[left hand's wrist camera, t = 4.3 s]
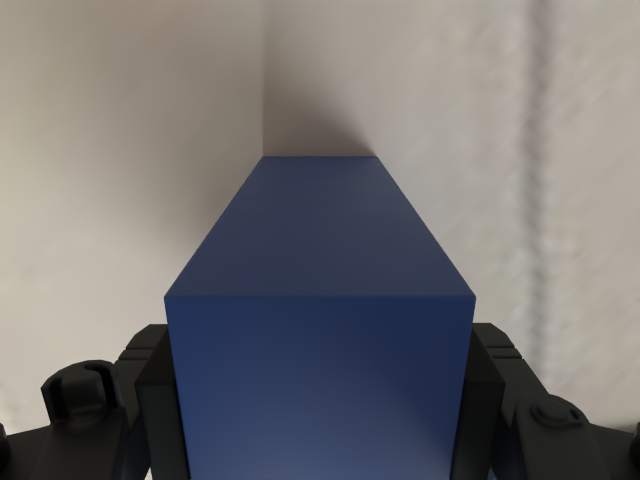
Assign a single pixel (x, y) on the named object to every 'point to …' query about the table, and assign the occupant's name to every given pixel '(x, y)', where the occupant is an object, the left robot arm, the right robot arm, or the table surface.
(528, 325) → the table surface
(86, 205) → the table surface
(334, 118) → the table surface
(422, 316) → the block
